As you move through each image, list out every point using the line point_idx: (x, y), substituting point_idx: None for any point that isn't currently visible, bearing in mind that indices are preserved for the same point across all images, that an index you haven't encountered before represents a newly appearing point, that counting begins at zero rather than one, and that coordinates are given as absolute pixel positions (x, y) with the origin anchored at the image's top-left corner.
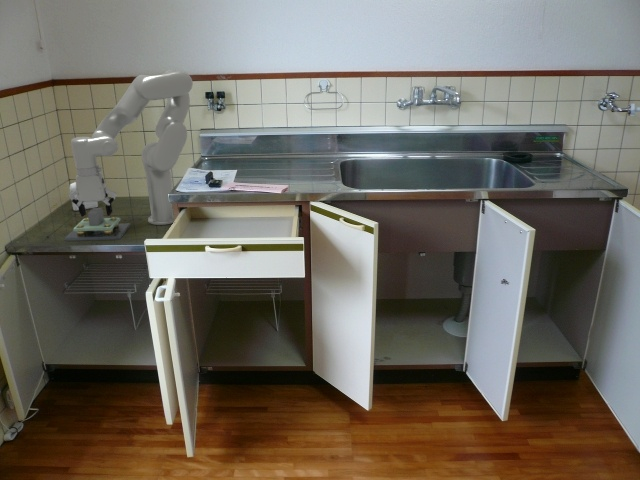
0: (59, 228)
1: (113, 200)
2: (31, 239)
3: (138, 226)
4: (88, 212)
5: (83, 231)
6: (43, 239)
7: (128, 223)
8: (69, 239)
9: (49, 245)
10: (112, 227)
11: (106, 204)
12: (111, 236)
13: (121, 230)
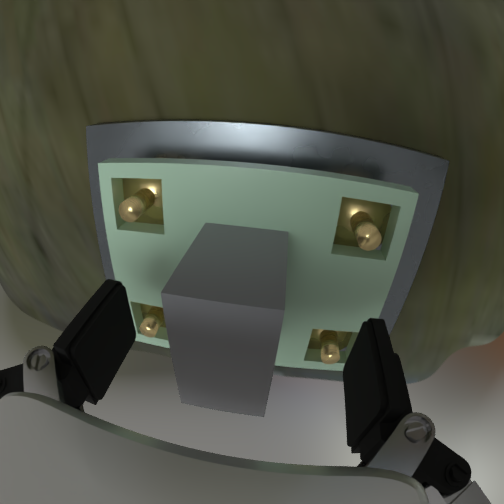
0: (25, 139)
1: (447, 457)
2: (12, 257)
3: (477, 179)
4: (180, 391)
5: None
6: (40, 267)
7: (440, 162)
8: None
9: None
10: None
11: (361, 462)
12: (343, 350)
13: (397, 284)
